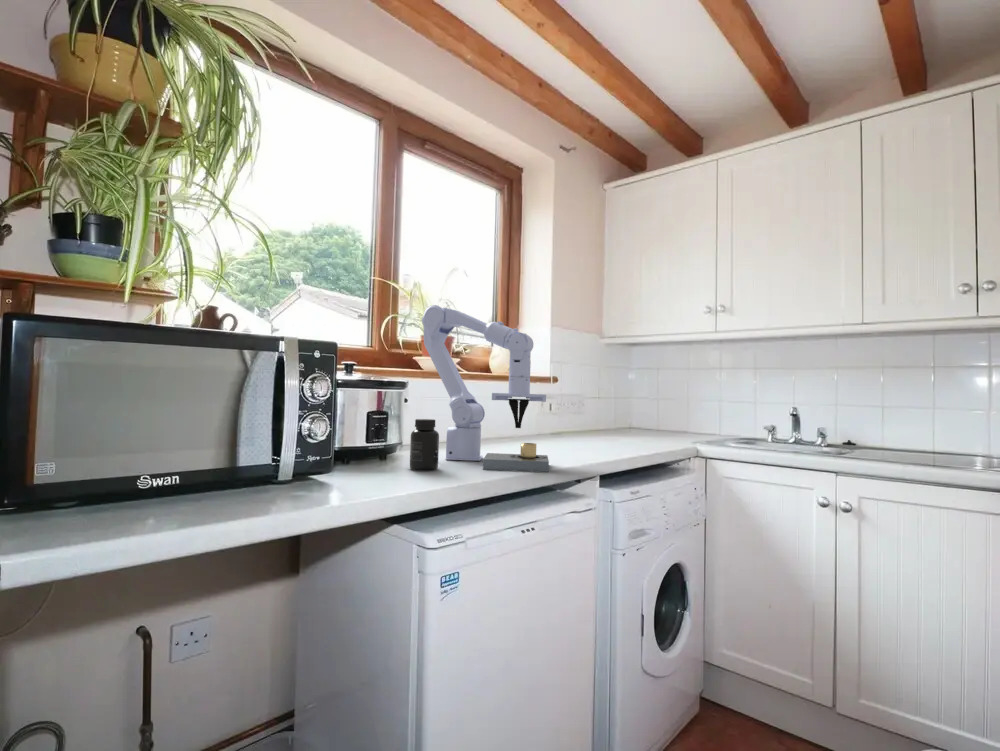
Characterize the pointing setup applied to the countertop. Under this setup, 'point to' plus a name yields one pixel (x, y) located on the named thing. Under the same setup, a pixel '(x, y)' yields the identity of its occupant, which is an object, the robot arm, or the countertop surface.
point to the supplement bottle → (424, 446)
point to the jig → (515, 462)
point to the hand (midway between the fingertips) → (518, 427)
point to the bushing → (528, 450)
